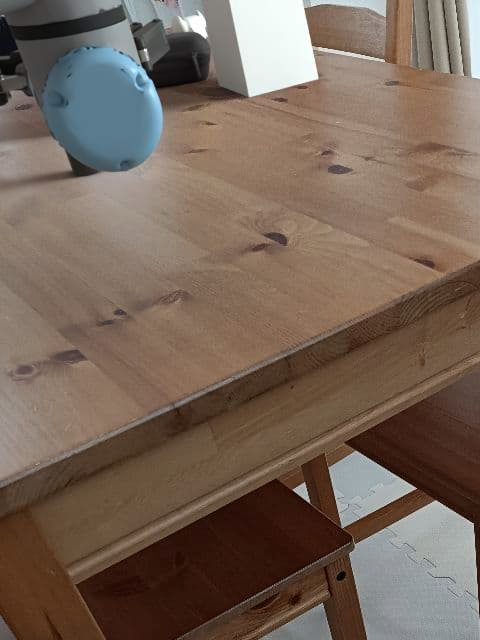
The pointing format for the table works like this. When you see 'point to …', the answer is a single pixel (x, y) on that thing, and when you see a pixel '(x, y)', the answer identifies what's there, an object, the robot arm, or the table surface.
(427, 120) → the table surface
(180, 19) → the elephant figurine
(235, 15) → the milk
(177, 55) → the glasses case
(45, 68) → the robot arm
